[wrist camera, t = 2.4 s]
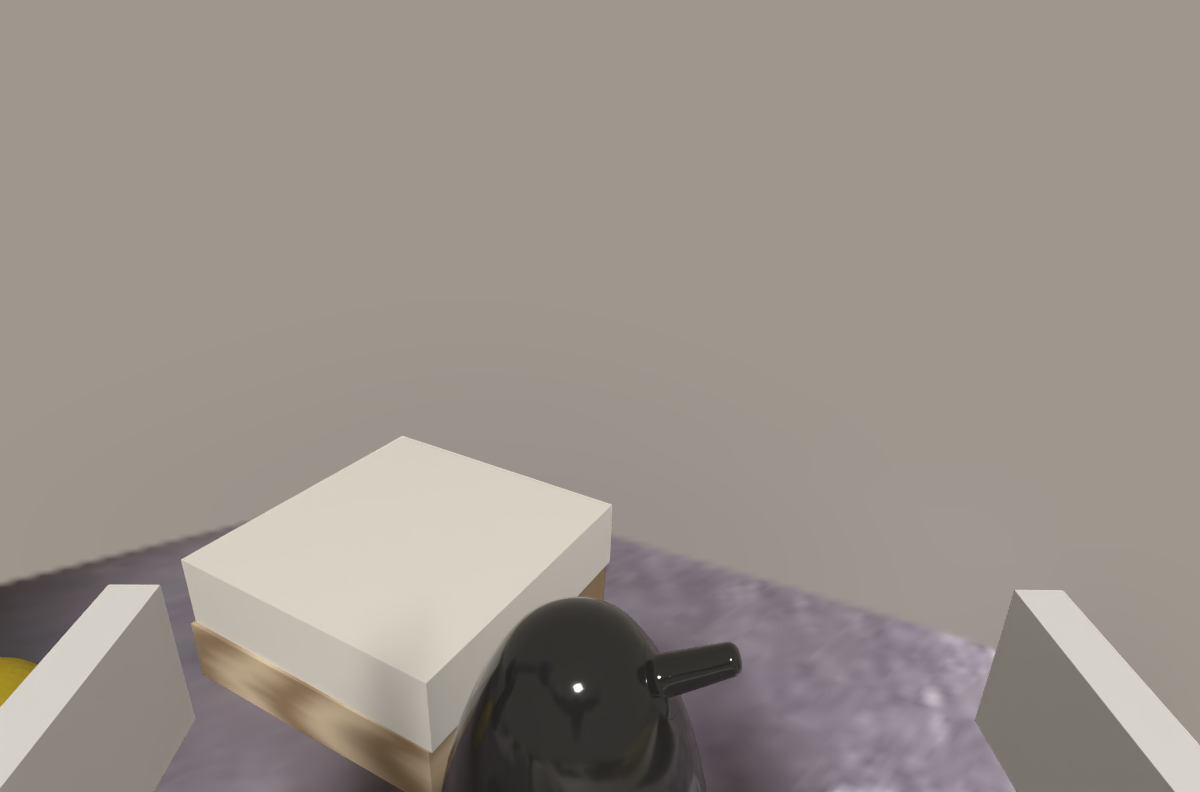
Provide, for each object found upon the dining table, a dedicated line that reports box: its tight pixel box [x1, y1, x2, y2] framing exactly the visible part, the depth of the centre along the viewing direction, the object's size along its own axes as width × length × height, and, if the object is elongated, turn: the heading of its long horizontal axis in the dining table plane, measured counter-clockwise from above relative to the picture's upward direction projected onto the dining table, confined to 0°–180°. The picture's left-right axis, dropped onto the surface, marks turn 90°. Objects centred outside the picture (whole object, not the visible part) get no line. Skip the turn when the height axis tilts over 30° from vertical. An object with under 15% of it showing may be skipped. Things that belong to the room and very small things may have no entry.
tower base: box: [191, 567, 605, 792], centre depth 44 cm, size 16×16×4 cm
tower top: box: [181, 436, 612, 753], centre depth 42 cm, size 16×16×4 cm
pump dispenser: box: [441, 597, 742, 792], centre depth 28 cm, size 10×10×15 cm
